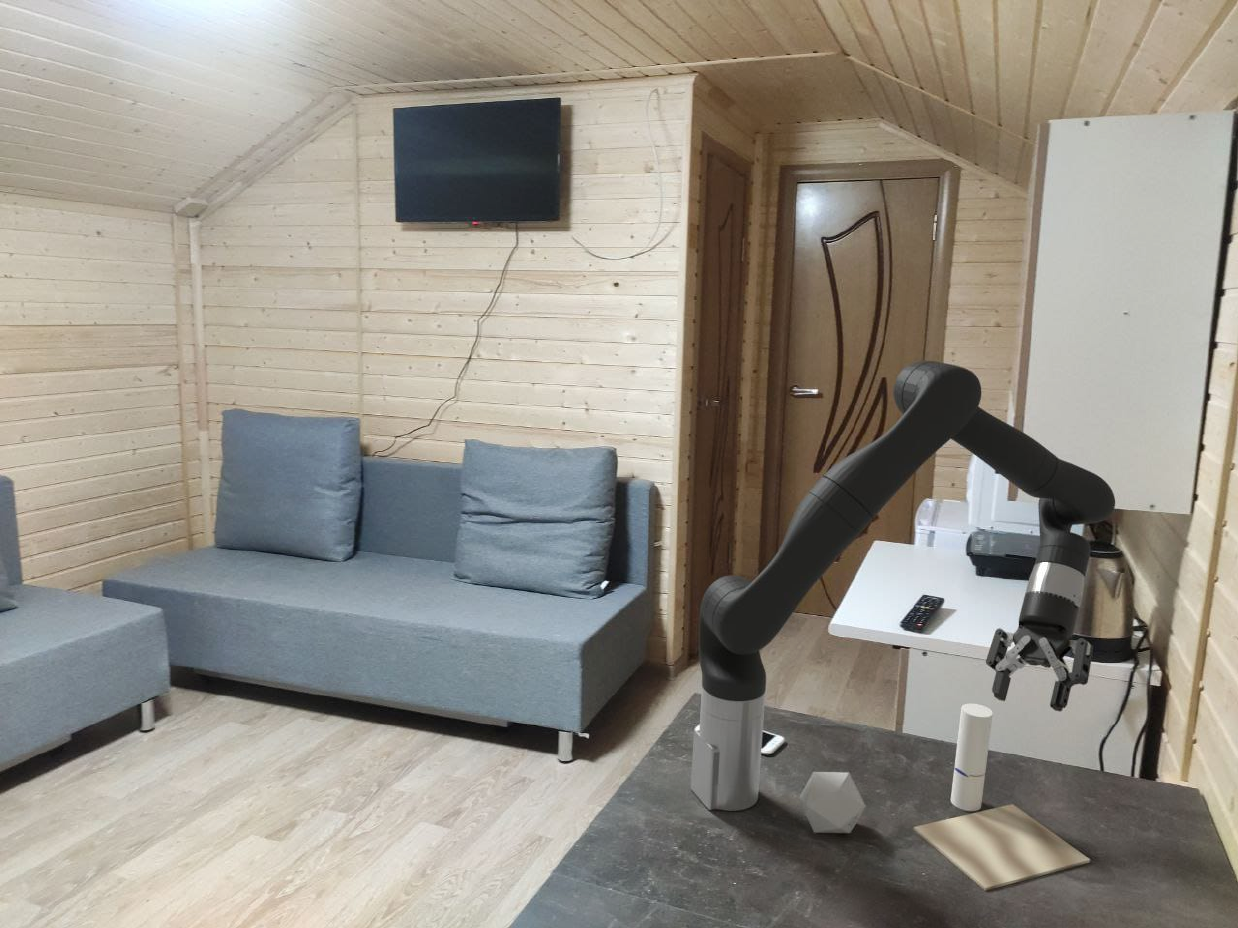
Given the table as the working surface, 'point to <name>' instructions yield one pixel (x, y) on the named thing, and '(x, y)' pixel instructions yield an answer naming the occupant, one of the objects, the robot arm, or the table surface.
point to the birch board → (1000, 846)
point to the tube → (971, 757)
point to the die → (832, 802)
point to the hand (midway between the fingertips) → (1026, 703)
